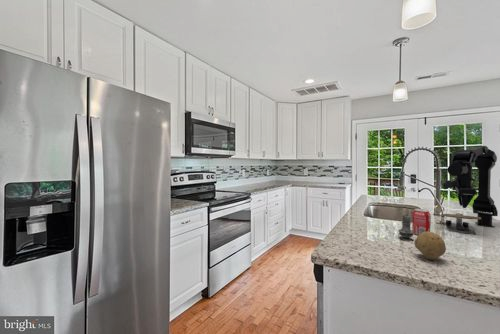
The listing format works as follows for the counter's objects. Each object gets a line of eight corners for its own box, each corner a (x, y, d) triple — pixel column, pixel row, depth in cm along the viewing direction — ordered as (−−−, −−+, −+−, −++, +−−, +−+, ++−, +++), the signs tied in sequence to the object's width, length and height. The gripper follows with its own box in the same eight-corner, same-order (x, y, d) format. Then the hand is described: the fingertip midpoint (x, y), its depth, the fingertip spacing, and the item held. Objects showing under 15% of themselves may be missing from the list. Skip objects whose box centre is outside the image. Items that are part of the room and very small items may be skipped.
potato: (408, 255, 86) (409, 229, 86) (422, 252, 89) (423, 226, 89) (436, 266, 78) (437, 237, 77) (450, 261, 81) (451, 233, 81)
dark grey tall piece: (416, 241, 100) (417, 214, 100) (401, 240, 102) (402, 214, 101) (410, 237, 106) (410, 211, 106) (396, 236, 107) (396, 211, 107)
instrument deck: (441, 216, 132) (441, 211, 132) (470, 219, 125) (470, 214, 125) (447, 215, 114) (447, 210, 114) (480, 219, 107) (480, 214, 108)
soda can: (423, 232, 114) (424, 208, 113) (433, 237, 107) (434, 211, 106) (408, 232, 114) (409, 208, 114) (417, 236, 107) (418, 211, 107)
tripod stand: (444, 223, 129) (444, 214, 129) (468, 226, 124) (468, 216, 123) (448, 231, 116) (449, 220, 116) (475, 234, 110) (476, 223, 110)
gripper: (440, 173, 125) (439, 202, 125) (445, 175, 109) (444, 207, 110) (468, 174, 118) (467, 204, 119) (477, 176, 103) (476, 211, 103)
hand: (462, 206), depth 113 cm, fingers open, 7 cm apart
